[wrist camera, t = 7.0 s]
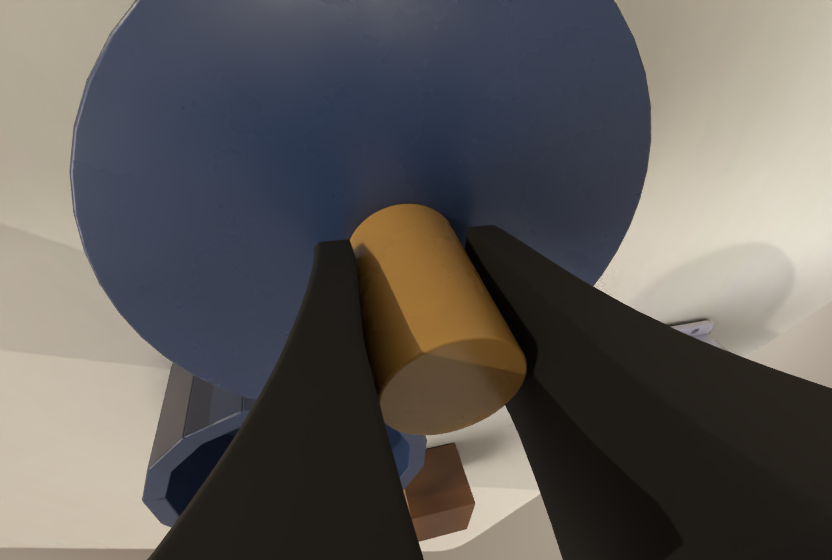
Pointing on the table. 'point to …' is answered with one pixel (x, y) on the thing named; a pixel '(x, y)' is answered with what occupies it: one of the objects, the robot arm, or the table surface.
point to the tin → (218, 442)
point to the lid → (354, 177)
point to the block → (440, 494)
